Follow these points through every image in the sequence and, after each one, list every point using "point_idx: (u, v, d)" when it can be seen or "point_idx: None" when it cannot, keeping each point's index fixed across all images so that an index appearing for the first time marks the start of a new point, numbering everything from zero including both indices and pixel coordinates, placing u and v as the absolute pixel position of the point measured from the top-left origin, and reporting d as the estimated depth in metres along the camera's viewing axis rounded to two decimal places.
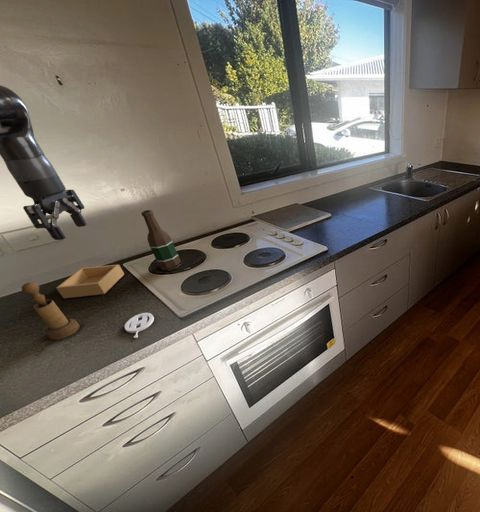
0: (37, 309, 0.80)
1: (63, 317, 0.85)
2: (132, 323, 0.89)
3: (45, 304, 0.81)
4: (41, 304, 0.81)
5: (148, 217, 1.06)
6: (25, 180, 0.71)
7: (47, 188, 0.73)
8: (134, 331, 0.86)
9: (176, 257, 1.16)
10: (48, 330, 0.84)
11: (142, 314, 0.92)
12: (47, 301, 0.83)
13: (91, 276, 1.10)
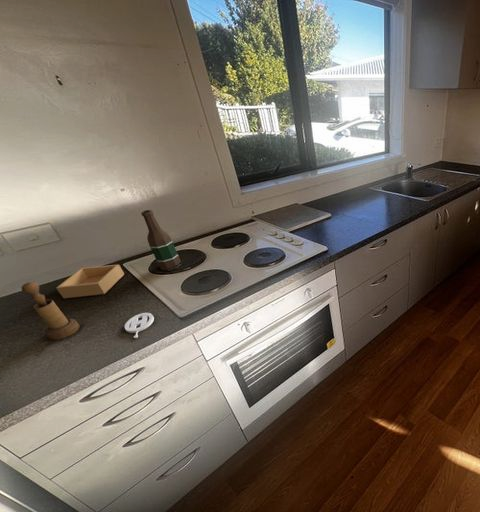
0: (37, 309, 0.80)
1: (63, 317, 0.85)
2: (132, 323, 0.89)
3: (45, 304, 0.81)
4: (41, 304, 0.81)
5: (148, 217, 1.06)
6: None
7: None
8: (134, 331, 0.86)
9: (176, 257, 1.16)
10: (48, 330, 0.84)
11: (142, 314, 0.92)
12: (47, 301, 0.83)
13: (91, 276, 1.10)
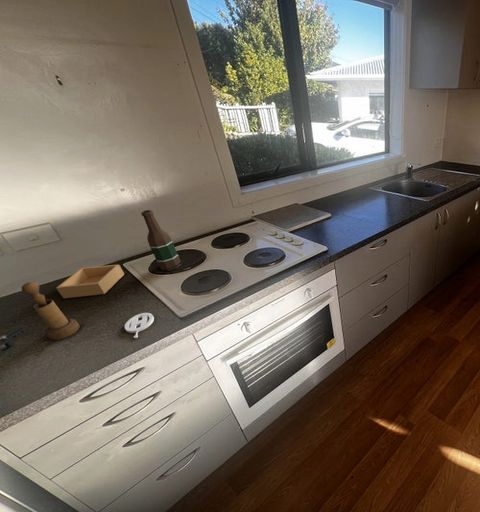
0: (37, 309, 0.80)
1: (63, 317, 0.85)
2: (132, 323, 0.89)
3: (45, 304, 0.81)
4: (41, 304, 0.81)
5: (148, 217, 1.06)
6: None
7: None
8: (134, 331, 0.86)
9: (176, 257, 1.16)
10: (48, 330, 0.84)
11: (142, 314, 0.92)
12: (47, 301, 0.83)
13: (91, 276, 1.10)
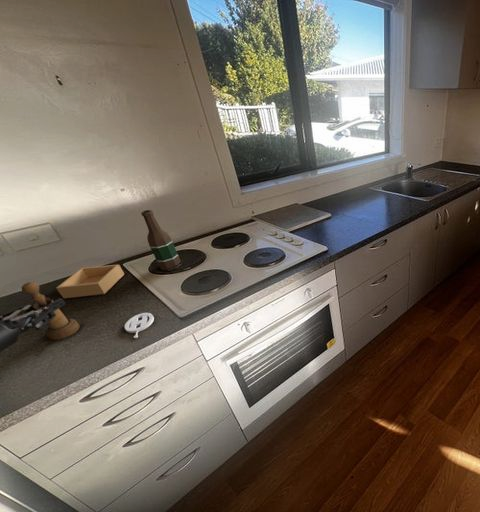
0: (37, 309, 0.80)
1: (63, 317, 0.85)
2: (132, 323, 0.89)
3: (45, 304, 0.81)
4: (41, 304, 0.81)
5: (148, 217, 1.06)
6: None
7: None
8: (134, 331, 0.86)
9: (176, 257, 1.16)
10: (48, 330, 0.84)
11: (142, 314, 0.92)
12: (47, 301, 0.83)
13: (91, 276, 1.10)
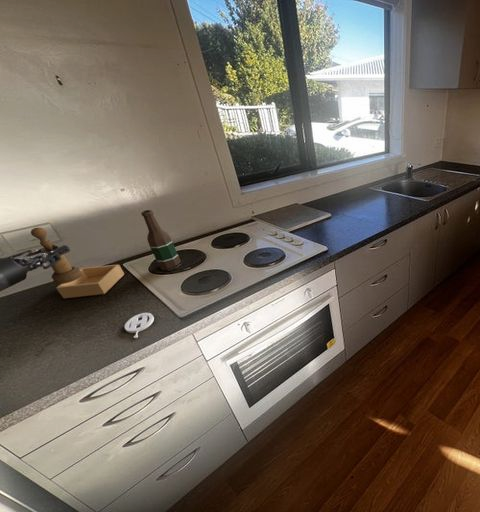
0: None
1: (67, 263, 0.92)
2: (132, 323, 0.89)
3: (51, 249, 0.89)
4: (48, 249, 0.88)
5: (148, 217, 1.06)
6: None
7: None
8: (134, 331, 0.86)
9: (176, 257, 1.16)
10: (53, 274, 0.91)
11: (142, 314, 0.92)
12: (53, 247, 0.90)
13: (91, 276, 1.10)
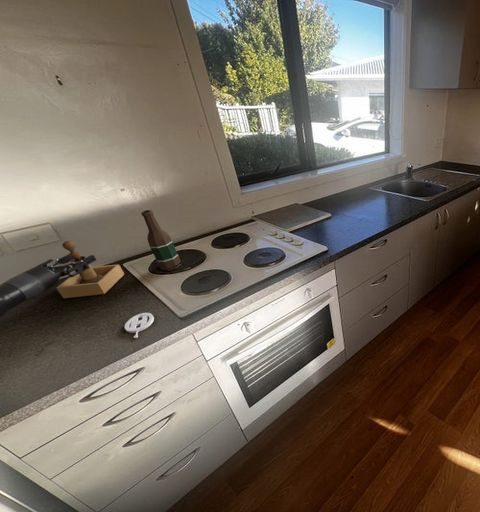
0: None
1: (93, 271, 1.05)
2: (132, 323, 0.89)
3: (80, 259, 1.01)
4: (77, 259, 1.00)
5: (148, 217, 1.06)
6: None
7: None
8: (134, 331, 0.86)
9: (176, 257, 1.16)
10: (81, 281, 1.03)
11: (142, 314, 0.92)
12: (81, 257, 1.02)
13: None
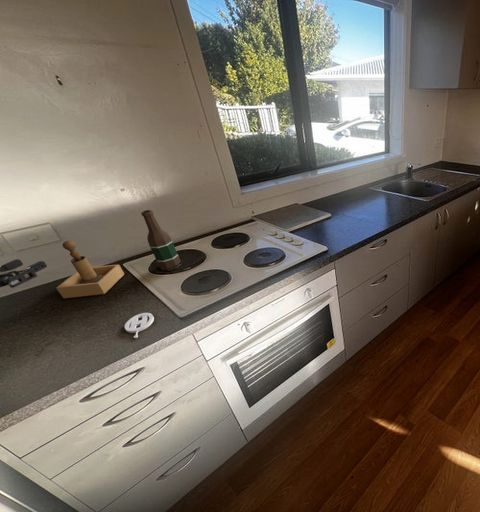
0: (74, 263, 1.00)
1: (93, 271, 1.05)
2: (132, 323, 0.89)
3: (80, 259, 1.01)
4: (77, 259, 1.00)
5: (148, 217, 1.06)
6: None
7: None
8: (134, 331, 0.86)
9: (176, 257, 1.16)
10: (81, 281, 1.03)
11: (142, 314, 0.92)
12: (81, 257, 1.02)
13: None
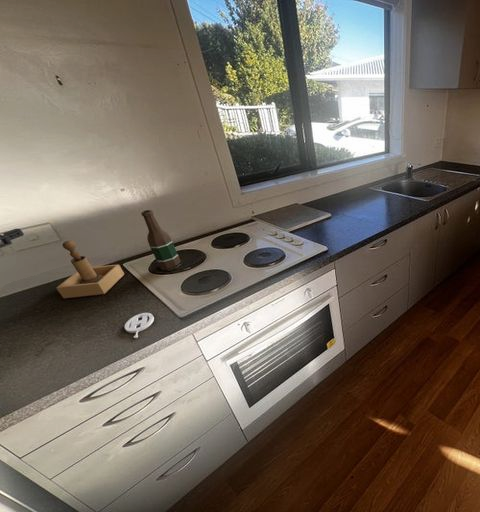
0: (74, 263, 1.00)
1: (93, 271, 1.05)
2: (132, 323, 0.89)
3: (80, 259, 1.01)
4: (77, 259, 1.00)
5: (148, 217, 1.06)
6: None
7: None
8: (134, 331, 0.86)
9: (176, 257, 1.16)
10: (81, 281, 1.03)
11: (142, 314, 0.92)
12: (81, 257, 1.02)
13: None
